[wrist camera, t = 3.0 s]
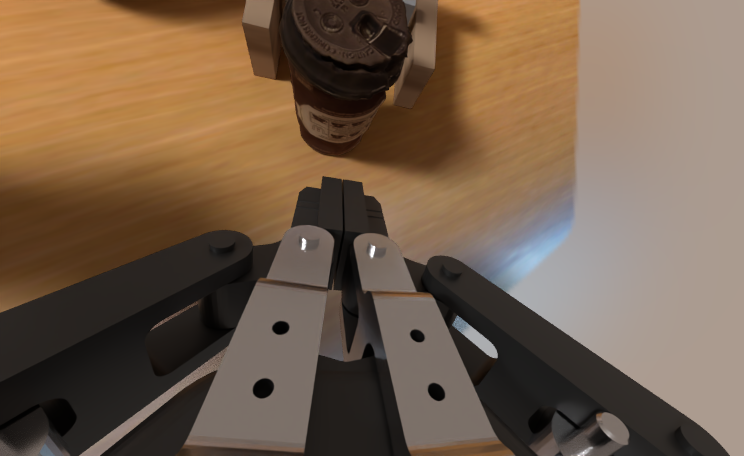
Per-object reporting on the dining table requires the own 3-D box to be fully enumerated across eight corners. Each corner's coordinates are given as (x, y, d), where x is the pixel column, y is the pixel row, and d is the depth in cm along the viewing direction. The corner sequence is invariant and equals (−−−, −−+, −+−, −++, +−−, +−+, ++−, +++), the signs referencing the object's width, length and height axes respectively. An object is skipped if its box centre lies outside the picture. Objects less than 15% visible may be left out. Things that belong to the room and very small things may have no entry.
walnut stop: (420, 110, 32) (456, 55, 25) (243, 72, 29) (221, -6, 21) (425, 10, 35) (459, -68, 27) (264, -36, 31) (252, -141, 24)
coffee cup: (383, 161, 30) (440, 72, 18) (301, 177, 28) (299, 89, 16) (360, 84, 31) (397, -51, 19) (279, 93, 29) (261, -52, 17)
